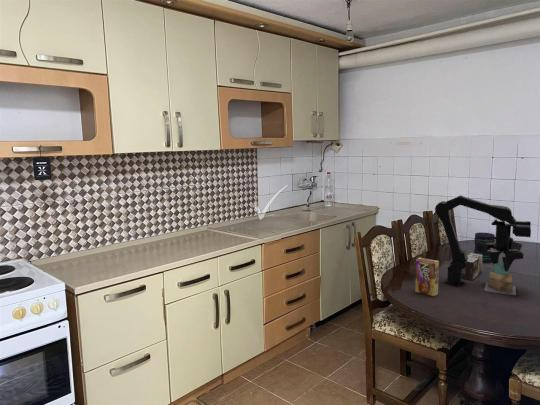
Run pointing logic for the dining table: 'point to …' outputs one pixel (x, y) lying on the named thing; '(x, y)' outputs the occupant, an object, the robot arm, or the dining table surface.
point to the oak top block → (500, 277)
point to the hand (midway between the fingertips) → (501, 269)
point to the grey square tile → (510, 292)
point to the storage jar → (479, 241)
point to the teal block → (499, 269)
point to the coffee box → (472, 266)
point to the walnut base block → (500, 285)
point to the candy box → (427, 276)
